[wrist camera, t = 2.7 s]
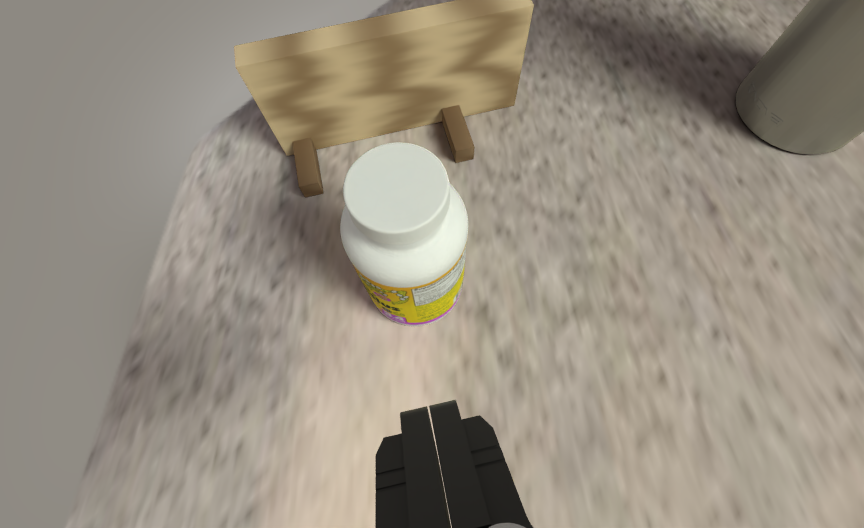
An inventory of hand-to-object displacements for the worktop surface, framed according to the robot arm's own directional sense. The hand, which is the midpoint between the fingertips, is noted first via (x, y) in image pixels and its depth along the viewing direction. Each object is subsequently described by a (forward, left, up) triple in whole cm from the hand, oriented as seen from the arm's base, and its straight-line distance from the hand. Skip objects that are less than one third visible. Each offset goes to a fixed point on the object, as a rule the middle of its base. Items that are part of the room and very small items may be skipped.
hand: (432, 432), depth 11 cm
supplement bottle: (-1, -10, -16) cm, 19 cm away
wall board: (-3, -23, -16) cm, 28 cm away
